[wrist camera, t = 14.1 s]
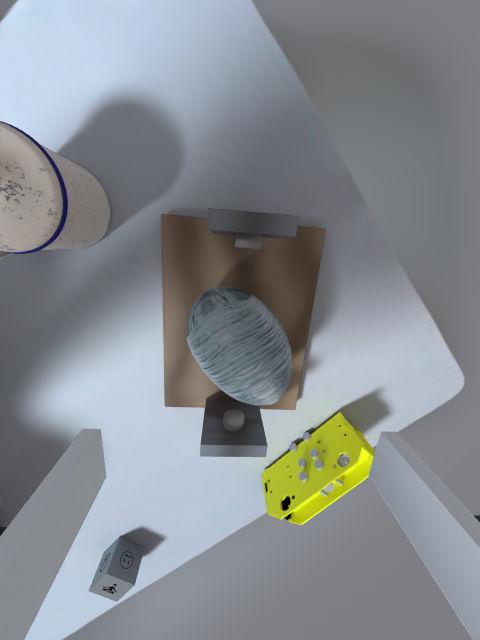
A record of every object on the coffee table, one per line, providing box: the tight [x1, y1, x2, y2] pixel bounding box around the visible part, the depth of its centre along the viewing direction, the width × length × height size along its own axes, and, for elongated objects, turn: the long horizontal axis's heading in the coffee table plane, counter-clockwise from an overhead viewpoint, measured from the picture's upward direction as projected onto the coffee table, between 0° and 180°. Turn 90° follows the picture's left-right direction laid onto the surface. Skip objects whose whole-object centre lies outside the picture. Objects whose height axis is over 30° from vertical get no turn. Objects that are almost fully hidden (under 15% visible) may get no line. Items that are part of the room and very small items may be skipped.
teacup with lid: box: [0, 121, 111, 259], centre depth 21 cm, size 12×9×12 cm
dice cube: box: [89, 537, 144, 601], centre depth 40 cm, size 5×5×5 cm
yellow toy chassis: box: [261, 412, 375, 525], centre depth 35 cm, size 16×6×8 cm, turn 134°
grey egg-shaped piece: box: [186, 286, 292, 405], centre depth 26 cm, size 14×10×10 cm
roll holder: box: [161, 208, 326, 457], centre depth 27 cm, size 18×24×10 cm
